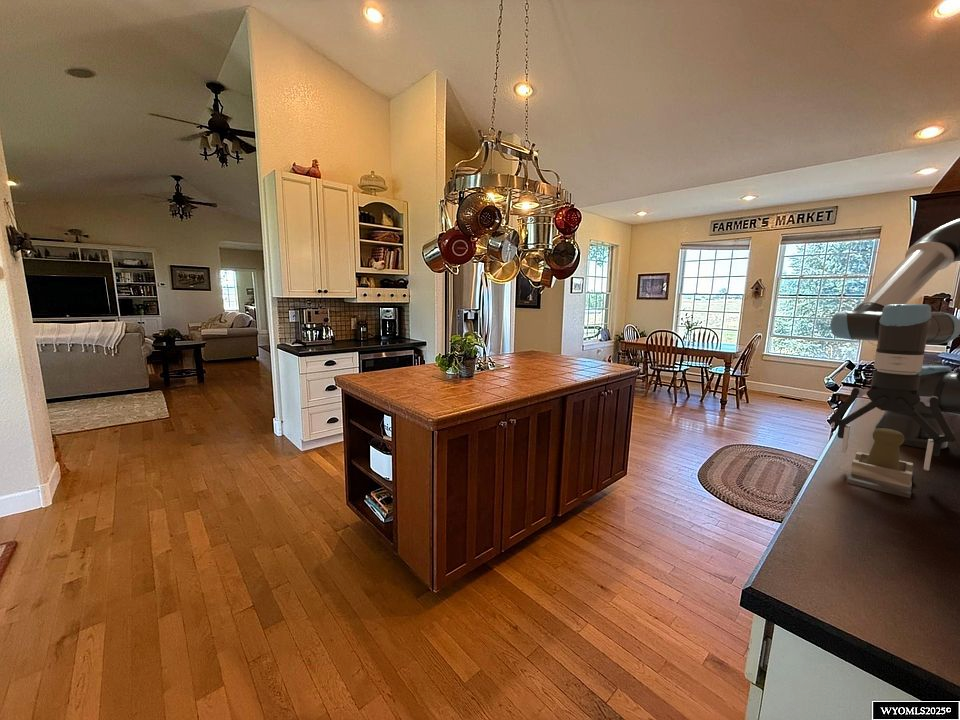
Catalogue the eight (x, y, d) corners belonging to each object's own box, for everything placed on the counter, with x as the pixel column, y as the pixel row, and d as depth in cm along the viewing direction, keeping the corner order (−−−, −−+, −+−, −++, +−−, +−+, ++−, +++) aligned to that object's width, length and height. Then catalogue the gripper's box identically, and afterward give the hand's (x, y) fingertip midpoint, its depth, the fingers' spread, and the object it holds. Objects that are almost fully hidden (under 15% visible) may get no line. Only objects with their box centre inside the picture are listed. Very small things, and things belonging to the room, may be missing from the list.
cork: (906, 481, 89) (916, 435, 87) (875, 478, 90) (884, 433, 88) (885, 469, 95) (894, 426, 93) (856, 466, 96) (864, 424, 94)
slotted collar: (855, 461, 102) (857, 447, 102) (911, 474, 95) (914, 458, 94) (846, 482, 91) (849, 466, 90) (910, 498, 83) (913, 480, 83)
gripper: (822, 366, 96) (811, 448, 99) (986, 381, 77) (967, 481, 80) (827, 363, 101) (817, 441, 104) (982, 376, 82) (965, 471, 85)
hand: (882, 459), depth 92 cm, fingers open, 13 cm apart
